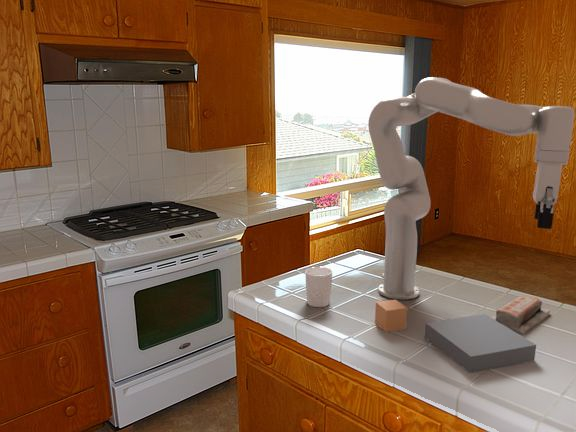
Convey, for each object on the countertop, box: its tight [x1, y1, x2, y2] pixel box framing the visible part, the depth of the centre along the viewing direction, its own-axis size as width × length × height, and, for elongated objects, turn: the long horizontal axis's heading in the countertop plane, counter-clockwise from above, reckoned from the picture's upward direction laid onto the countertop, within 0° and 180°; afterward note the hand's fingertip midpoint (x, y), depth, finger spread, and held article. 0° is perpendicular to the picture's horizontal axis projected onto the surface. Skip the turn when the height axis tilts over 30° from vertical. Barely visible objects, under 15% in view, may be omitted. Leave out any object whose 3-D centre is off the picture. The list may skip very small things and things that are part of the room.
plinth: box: [424, 313, 537, 374], centre depth 125 cm, size 18×18×4 cm
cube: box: [374, 299, 408, 333], centre depth 137 cm, size 6×6×6 cm
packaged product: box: [490, 296, 551, 334], centre depth 142 cm, size 18×5×10 cm
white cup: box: [305, 266, 333, 308], centre depth 151 cm, size 8×8×10 cm
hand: (542, 223), depth 131 cm, fingers open, 9 cm apart
